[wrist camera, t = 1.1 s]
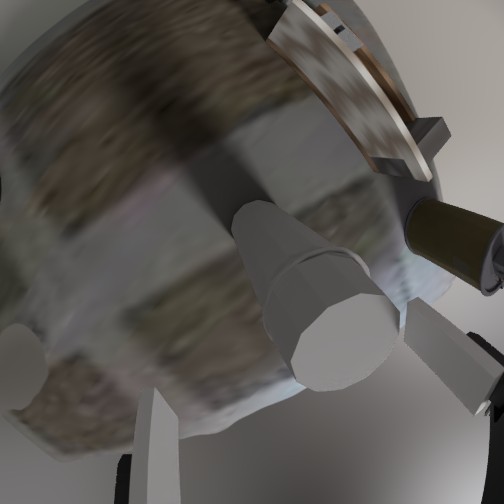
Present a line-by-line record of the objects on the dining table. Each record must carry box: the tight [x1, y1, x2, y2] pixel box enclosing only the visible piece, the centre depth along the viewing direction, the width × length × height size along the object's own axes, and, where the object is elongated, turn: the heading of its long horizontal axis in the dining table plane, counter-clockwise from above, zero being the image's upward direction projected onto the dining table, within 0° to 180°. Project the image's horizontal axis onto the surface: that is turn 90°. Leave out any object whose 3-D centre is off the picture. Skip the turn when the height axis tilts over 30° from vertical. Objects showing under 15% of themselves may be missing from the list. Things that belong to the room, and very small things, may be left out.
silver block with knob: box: [266, 0, 363, 52], centre depth 22 cm, size 14×6×9 cm, turn 43°
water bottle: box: [231, 200, 400, 392], centre depth 25 cm, size 9×8×25 cm
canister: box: [405, 197, 504, 296], centre depth 32 cm, size 11×10×20 cm
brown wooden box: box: [266, 0, 451, 182], centre depth 26 cm, size 24×10×12 cm, turn 43°
